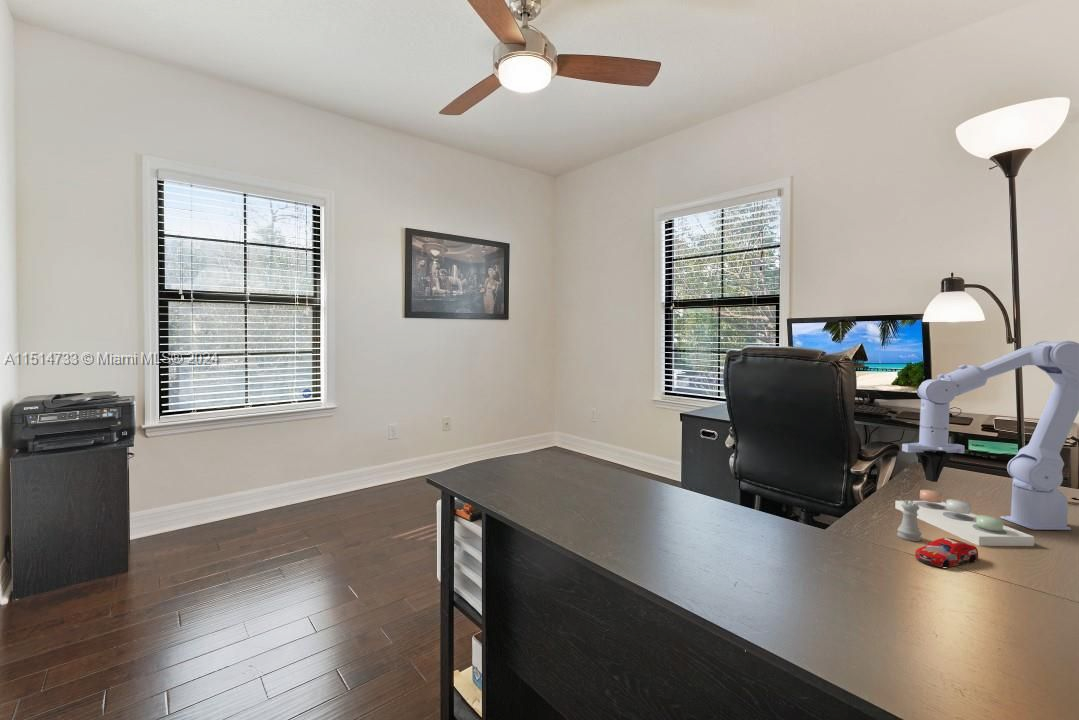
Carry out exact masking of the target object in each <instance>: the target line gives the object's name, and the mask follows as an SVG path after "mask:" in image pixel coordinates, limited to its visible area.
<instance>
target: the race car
mask: <svg viewBox="0 0 1079 720" xmlns="http://www.w3.org/2000/svg"><path fill="white" fill-rule="evenodd" d="M926 544H927V545H924V546H921V547H919V548H917V549H916V550H915V551H914V552H915V553H914V555H915V556H914V557H915V559H917V560H918V559H919V560H918V561H920V560H921V561H920V562H922V563H924V562H925V564H927V563H928V565H931V566H934V567H939V568H941V567H948V568H949V567H955V566H959V565H964V564H972V563H975V562H977V561H978V560H979V551H978V548H977V547H976V546H975V544H974V545H973V544H970V543H967V542H965V541H963V540H962V541H961V540H958V539H955V538H951V537H942V538H938V539H934V540H933V541H931V542H929V541H926Z"/></svg>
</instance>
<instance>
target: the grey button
mask: <svg viewBox="0 0 1079 720" xmlns="http://www.w3.org/2000/svg"><path fill="white" fill-rule="evenodd" d="M945 503H946V509H947V510H949V511H952V512H956V513H962V514H970V513H972V512H971V509H972V507H971V506H972V503H970V502H969V501H968V502H967V501H965V500H960V499H951V498H950V499H946V501H945Z"/></svg>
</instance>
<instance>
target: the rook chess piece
mask: <svg viewBox="0 0 1079 720" xmlns="http://www.w3.org/2000/svg"><path fill="white" fill-rule="evenodd" d="M902 501H903V504H902V505H901V506H902V507H903V509H904V510H903V512H902V511H901V512H902V519H901V523H900V524H899V526H898V528H897V531H898V532H897V533H896V535H897V536H898V538H899V539H901V540H905V541H908V542H918V543H919V542H920V541H921V540H923V538H922V531H920V528H919V525H918V518H917V515H918V514H917V510H918V509H919V506H918V503H917V502H914V503H913V501H914V500H907V499H906V500H902ZM908 501H910V503H908Z"/></svg>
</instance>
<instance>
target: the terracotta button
mask: <svg viewBox="0 0 1079 720" xmlns="http://www.w3.org/2000/svg"><path fill="white" fill-rule="evenodd" d="M919 499H920V501H928V502H933V503H941V502H943V492H940V491H937V490H931V489H920V491H919Z"/></svg>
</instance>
